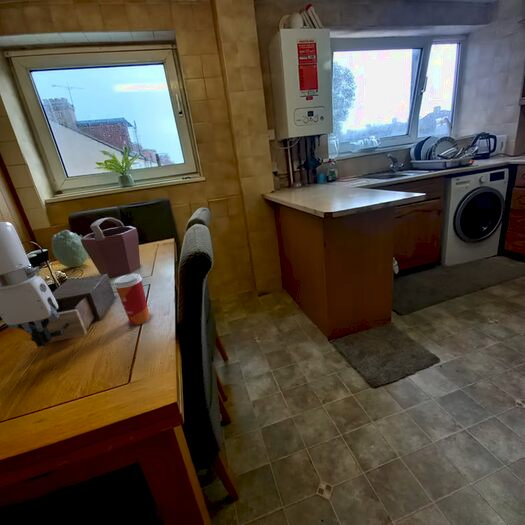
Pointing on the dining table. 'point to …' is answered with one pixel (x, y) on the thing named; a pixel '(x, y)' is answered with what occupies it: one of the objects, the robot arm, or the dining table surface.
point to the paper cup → (133, 298)
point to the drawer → (71, 319)
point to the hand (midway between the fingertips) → (44, 343)
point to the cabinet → (88, 292)
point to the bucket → (113, 248)
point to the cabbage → (69, 249)
